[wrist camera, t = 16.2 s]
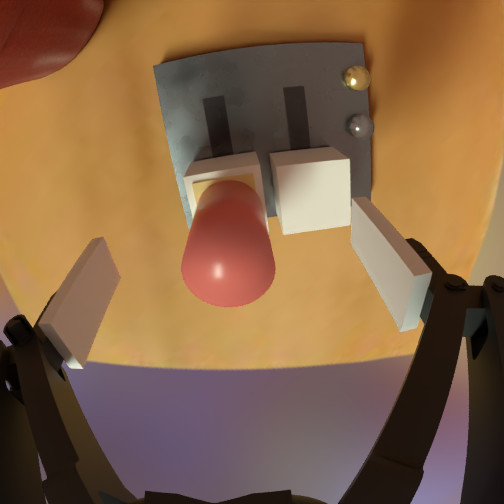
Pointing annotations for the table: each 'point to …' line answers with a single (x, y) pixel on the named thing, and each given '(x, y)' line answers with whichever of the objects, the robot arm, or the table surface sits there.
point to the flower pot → (43, 36)
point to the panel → (268, 108)
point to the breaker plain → (311, 189)
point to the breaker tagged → (223, 176)
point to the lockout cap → (228, 247)
